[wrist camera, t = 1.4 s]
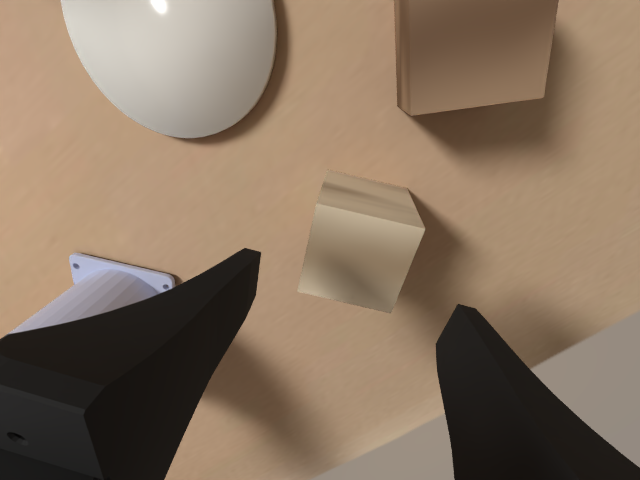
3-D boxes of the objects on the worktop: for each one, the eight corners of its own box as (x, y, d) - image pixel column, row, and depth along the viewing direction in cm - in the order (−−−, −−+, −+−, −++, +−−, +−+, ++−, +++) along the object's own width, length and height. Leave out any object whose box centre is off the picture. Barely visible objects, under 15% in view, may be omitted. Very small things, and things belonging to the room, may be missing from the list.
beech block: (382, 256, 22) (391, 313, 17) (311, 239, 22) (297, 291, 16) (406, 187, 20) (425, 229, 14) (327, 168, 20) (316, 203, 14)
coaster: (263, 154, 19) (259, 157, 19) (87, 112, 19) (76, 114, 19) (293, -88, 14) (290, -97, 14) (54, -145, 14) (38, -157, 14)
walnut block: (494, 92, 17) (543, 98, 12) (397, 106, 18) (410, 115, 13) (505, -27, 15) (569, -73, 10) (393, -5, 15) (408, -39, 11)
